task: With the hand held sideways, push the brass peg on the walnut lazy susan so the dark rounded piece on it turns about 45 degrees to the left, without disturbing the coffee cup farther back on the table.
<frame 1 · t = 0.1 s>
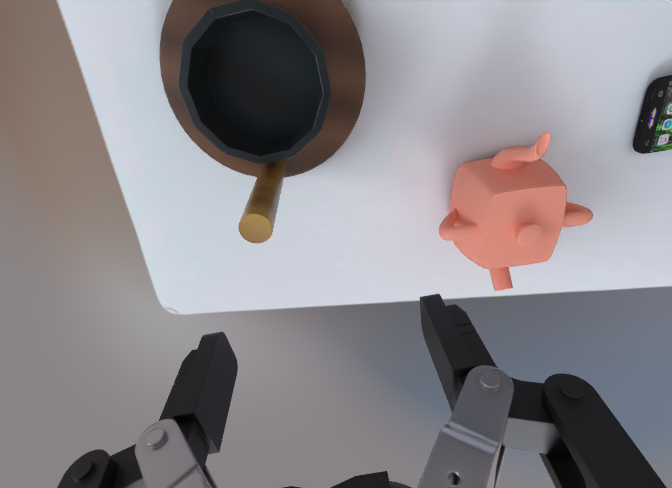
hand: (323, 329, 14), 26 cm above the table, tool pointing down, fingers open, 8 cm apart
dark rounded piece: (255, 90, 26), point 8 cm above the table, hinge at 0.0°
teapot: (482, 193, 40), on the table
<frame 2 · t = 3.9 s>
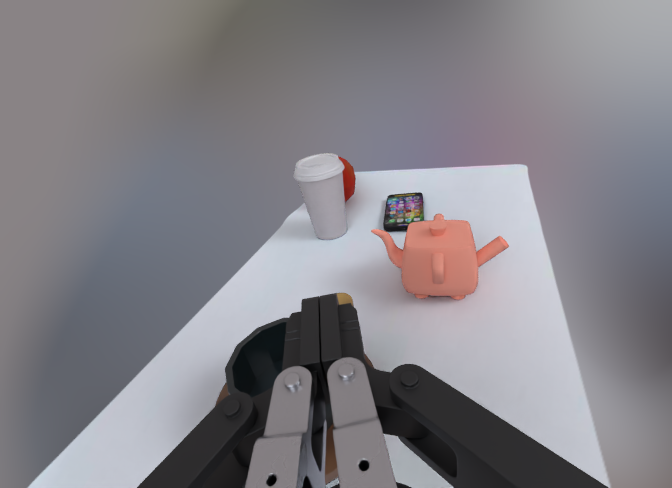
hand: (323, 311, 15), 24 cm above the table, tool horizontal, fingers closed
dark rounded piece: (280, 354, 34), point 8 cm above the table, hinge at 0.0°
smartphone: (404, 213, 73), on the table
teapot: (438, 284, 52), on the table
apple: (337, 202, 84), on the table
coffee cup: (331, 232, 72), on the table
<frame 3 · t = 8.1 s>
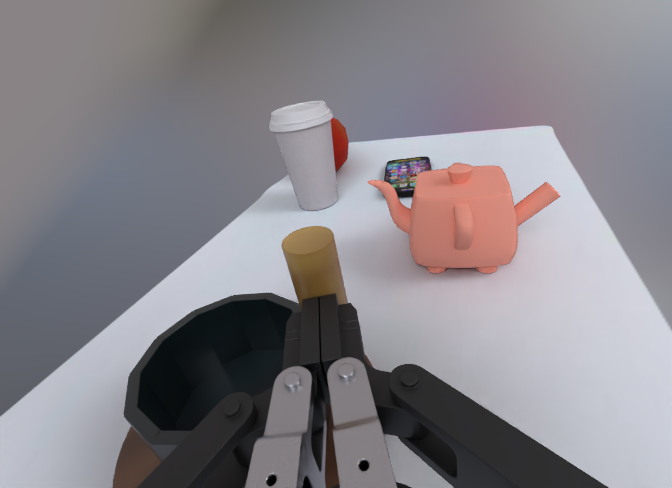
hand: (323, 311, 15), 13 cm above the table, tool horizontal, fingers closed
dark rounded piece: (220, 348, 21), point 8 cm above the table, hinge at 1.9°, touching gripper
smartphone: (408, 179, 59), on the table
teapot: (458, 255, 39), on the table
apple: (327, 172, 70), on the table
coffee cup: (319, 202, 58), on the table
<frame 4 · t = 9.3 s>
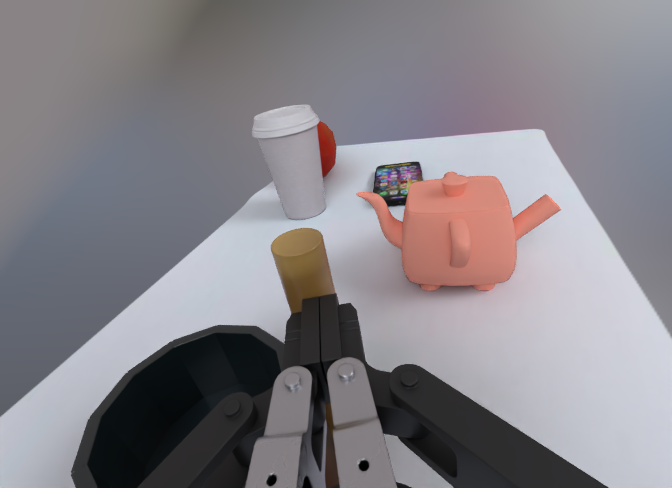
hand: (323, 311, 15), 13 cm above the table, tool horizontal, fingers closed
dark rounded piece: (189, 397, 18), point 8 cm above the table, hinge at 25.0°, touching gripper
smartphone: (398, 186, 57), on the table
teapot: (453, 270, 37), on the table
apple: (315, 177, 68), on the table
coffee cup: (306, 211, 56), on the table
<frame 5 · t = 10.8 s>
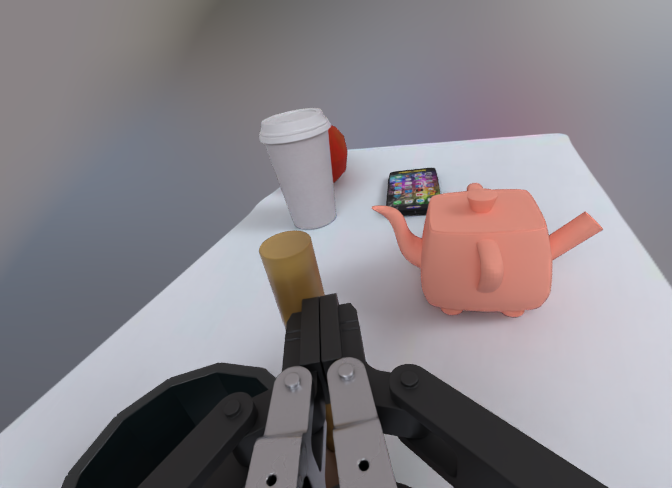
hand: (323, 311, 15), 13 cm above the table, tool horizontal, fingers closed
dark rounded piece: (178, 461, 15), point 8 cm above the table, hinge at 52.1°, touching gripper
smartphone: (413, 193, 54), on the table
teapot: (476, 291, 33), on the table
apple: (325, 183, 65), on the table
coffee cup: (315, 219, 53), on the table
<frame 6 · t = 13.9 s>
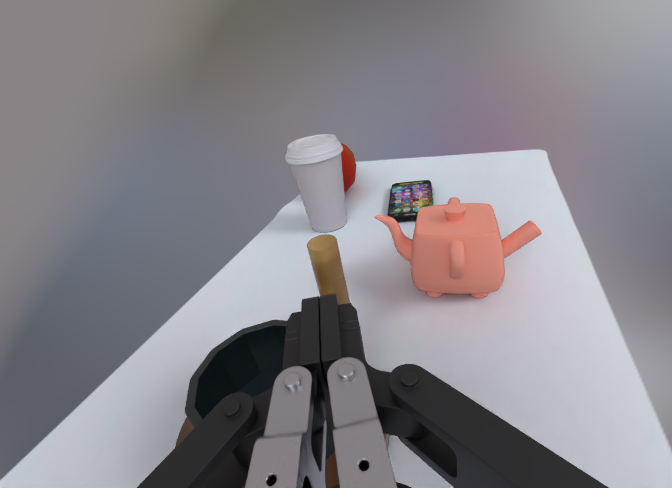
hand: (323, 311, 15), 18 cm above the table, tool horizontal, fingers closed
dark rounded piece: (258, 368, 26), point 8 cm above the table, hinge at 52.2°
smartphone: (411, 202, 65), on the table
teapot: (454, 280, 44), on the table
apple: (336, 192, 76), on the table
coffee cup: (329, 224, 64), on the table
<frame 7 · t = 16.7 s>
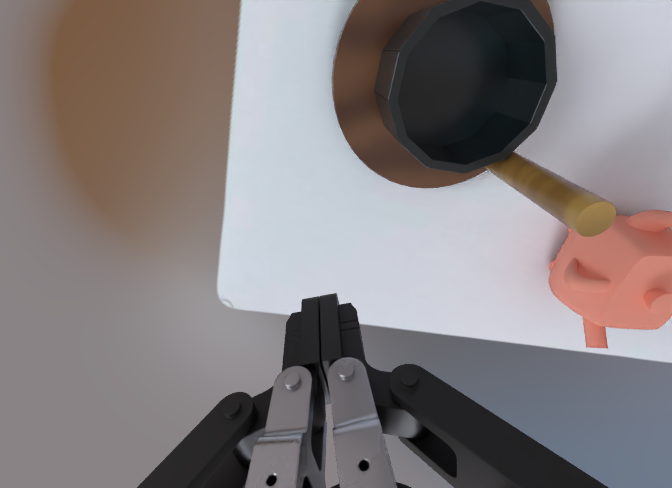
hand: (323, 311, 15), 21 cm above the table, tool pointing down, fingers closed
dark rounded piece: (474, 92, 23), point 8 cm above the table, hinge at 52.2°
teapot: (586, 246, 40), on the table
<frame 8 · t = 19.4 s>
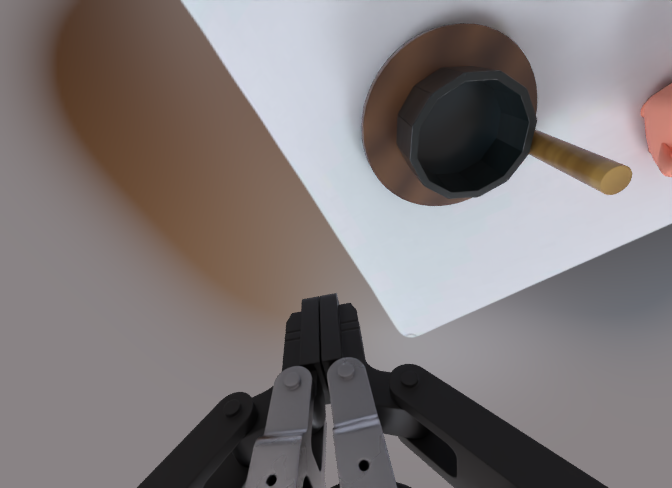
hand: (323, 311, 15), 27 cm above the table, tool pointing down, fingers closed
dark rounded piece: (474, 141, 31), point 8 cm above the table, hinge at 52.2°
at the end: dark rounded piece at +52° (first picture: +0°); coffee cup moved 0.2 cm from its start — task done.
